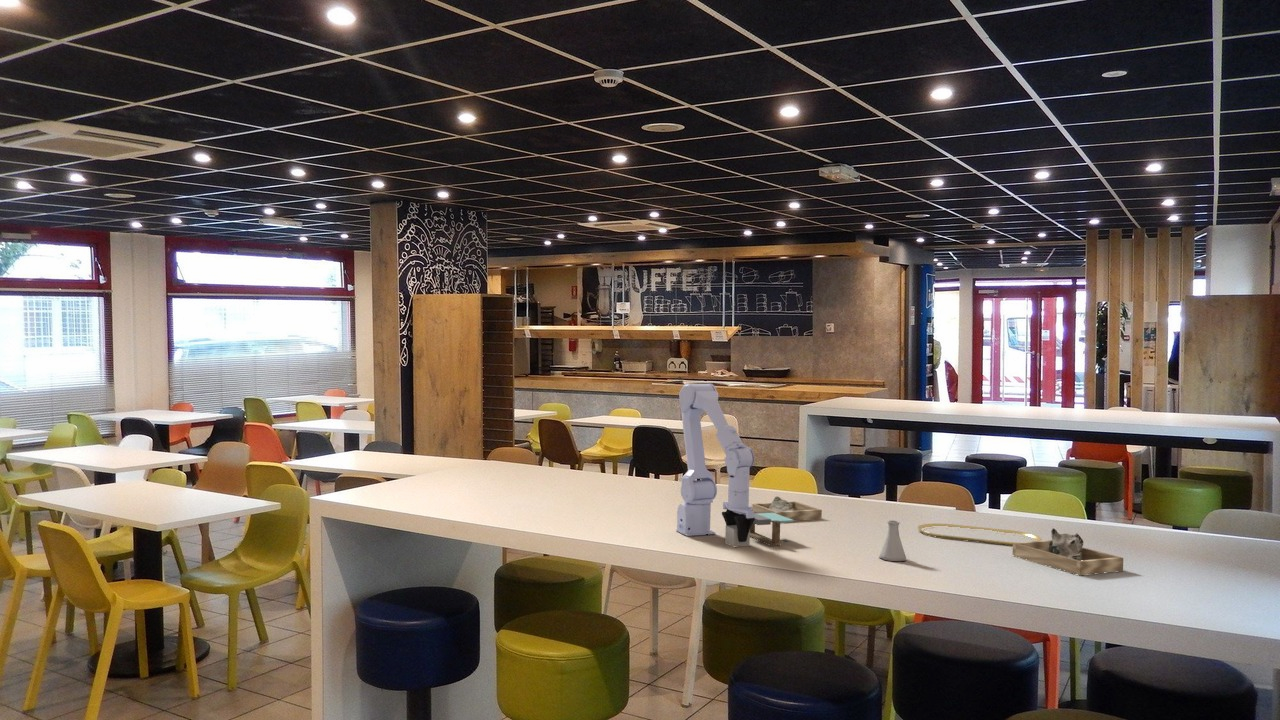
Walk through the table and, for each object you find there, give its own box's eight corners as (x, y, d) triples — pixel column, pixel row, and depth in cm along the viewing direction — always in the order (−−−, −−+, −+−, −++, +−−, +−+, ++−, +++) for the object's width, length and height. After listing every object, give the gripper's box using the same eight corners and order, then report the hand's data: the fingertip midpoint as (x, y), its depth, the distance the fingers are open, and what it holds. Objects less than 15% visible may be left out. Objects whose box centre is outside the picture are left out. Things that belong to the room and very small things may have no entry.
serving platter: (922, 526, 283) (922, 521, 283) (1042, 538, 268) (1042, 533, 268) (913, 537, 266) (913, 531, 266) (1040, 551, 251) (1041, 545, 251)
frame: (773, 546, 247) (773, 522, 247) (743, 534, 263) (744, 511, 262) (781, 545, 248) (782, 521, 248) (751, 533, 264) (752, 510, 263)
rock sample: (756, 504, 292) (774, 486, 294) (760, 516, 297) (778, 498, 300) (779, 522, 285) (797, 503, 287) (782, 533, 291) (801, 515, 293)
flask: (875, 555, 240) (876, 518, 240) (902, 556, 239) (903, 519, 239) (882, 561, 232) (883, 523, 232) (909, 562, 232) (911, 524, 232)
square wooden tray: (776, 521, 282) (776, 512, 282) (751, 512, 297) (751, 503, 297) (821, 519, 289) (821, 509, 289) (795, 510, 304) (795, 501, 304)
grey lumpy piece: (1094, 568, 226) (1084, 529, 227) (1055, 573, 229) (1046, 534, 230) (1085, 557, 241) (1076, 520, 242) (1049, 562, 244) (1040, 526, 245)
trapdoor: (759, 525, 248) (759, 520, 248) (739, 517, 259) (739, 512, 259) (793, 523, 252) (794, 518, 252) (772, 516, 263) (772, 510, 263)
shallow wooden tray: (1079, 575, 222) (1080, 561, 222) (1012, 555, 242) (1012, 543, 242) (1123, 571, 228) (1123, 557, 228) (1053, 552, 248) (1054, 539, 248)
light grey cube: (733, 547, 246) (734, 529, 245) (725, 543, 250) (725, 525, 250) (749, 546, 247) (750, 528, 247) (740, 542, 252) (741, 524, 252)
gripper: (764, 494, 243) (763, 543, 244) (738, 486, 257) (737, 533, 257) (741, 495, 241) (740, 545, 241) (717, 487, 254) (715, 534, 254)
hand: (737, 539), depth 249 cm, fingers open, 5 cm apart
